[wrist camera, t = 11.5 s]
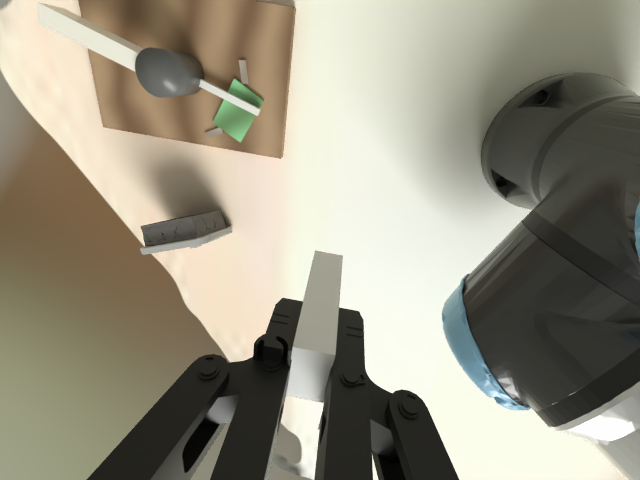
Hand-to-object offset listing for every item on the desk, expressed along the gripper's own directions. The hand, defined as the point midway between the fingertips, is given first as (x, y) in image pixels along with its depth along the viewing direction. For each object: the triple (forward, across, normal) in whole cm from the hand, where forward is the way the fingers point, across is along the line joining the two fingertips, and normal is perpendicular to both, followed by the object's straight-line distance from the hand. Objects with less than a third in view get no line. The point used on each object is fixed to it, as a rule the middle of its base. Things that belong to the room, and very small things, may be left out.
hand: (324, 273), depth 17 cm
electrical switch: (+27, +20, +13) cm, 36 cm away
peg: (+25, +21, -7) cm, 34 cm away
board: (+26, +20, -7) cm, 34 cm away
